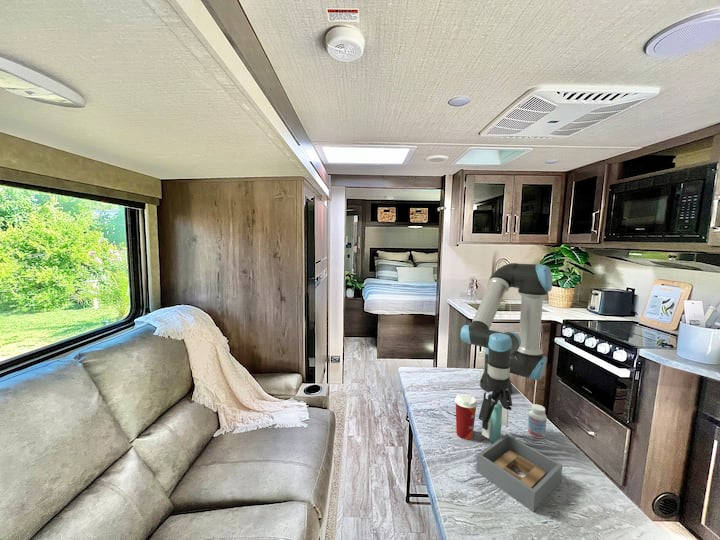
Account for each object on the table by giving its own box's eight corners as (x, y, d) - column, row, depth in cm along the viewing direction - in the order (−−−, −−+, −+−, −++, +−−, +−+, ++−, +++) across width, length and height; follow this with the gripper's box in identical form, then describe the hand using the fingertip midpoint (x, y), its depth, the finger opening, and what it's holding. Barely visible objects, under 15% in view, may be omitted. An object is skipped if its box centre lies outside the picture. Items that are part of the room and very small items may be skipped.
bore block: (509, 457, 105) (509, 449, 104) (546, 480, 95) (546, 471, 95) (490, 472, 98) (490, 464, 98) (527, 499, 88) (528, 490, 88)
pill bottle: (525, 434, 117) (527, 407, 116) (529, 427, 122) (531, 401, 120) (543, 441, 113) (545, 413, 112) (546, 433, 117) (549, 407, 116)
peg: (492, 435, 116) (494, 401, 115) (502, 441, 113) (504, 406, 111) (486, 439, 114) (488, 405, 112) (496, 445, 111) (498, 410, 109)
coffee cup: (477, 443, 112) (479, 405, 110) (454, 440, 114) (456, 403, 112) (473, 429, 120) (475, 393, 119) (452, 426, 122) (453, 391, 120)
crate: (505, 449, 109) (506, 433, 108) (560, 482, 94) (562, 464, 94) (476, 471, 99) (477, 454, 98) (533, 512, 84) (534, 492, 83)
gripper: (505, 364, 120) (502, 414, 123) (469, 380, 107) (467, 436, 109) (524, 371, 114) (520, 424, 117) (489, 389, 101) (486, 448, 103)
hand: (495, 430), depth 113 cm, fingers open, 11 cm apart
